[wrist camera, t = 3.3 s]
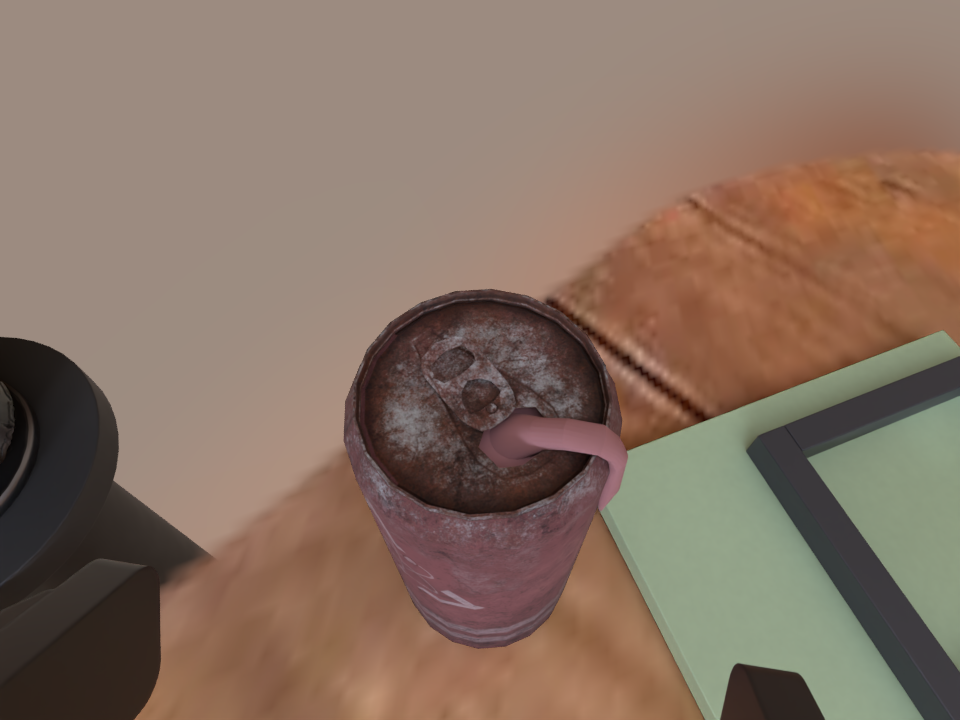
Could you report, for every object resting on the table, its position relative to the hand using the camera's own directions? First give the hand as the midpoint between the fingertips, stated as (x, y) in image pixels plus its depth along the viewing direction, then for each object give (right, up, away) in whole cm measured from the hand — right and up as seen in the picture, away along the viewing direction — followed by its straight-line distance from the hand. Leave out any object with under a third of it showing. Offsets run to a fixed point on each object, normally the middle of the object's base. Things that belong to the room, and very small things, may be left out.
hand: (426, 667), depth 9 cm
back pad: (+16, -4, +16) cm, 23 cm away
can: (+1, -4, +17) cm, 17 cm away
